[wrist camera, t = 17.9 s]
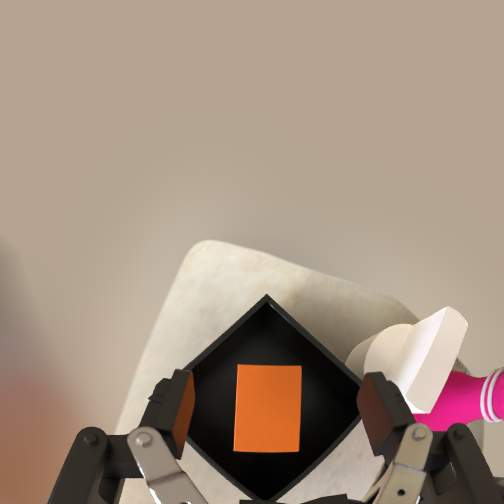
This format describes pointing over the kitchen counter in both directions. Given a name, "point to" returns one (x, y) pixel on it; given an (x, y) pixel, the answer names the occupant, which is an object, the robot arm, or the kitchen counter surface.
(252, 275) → the kitchen counter surface
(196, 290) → the kitchen counter surface
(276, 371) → the orange rectangular block
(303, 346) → the bin
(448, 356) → the cylinder with rectangular tab
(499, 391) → the pepper mill
